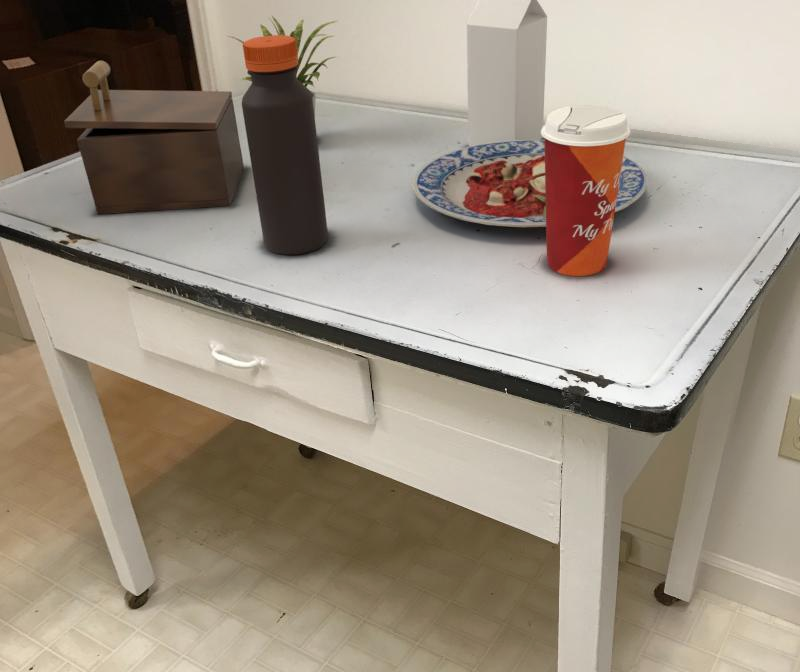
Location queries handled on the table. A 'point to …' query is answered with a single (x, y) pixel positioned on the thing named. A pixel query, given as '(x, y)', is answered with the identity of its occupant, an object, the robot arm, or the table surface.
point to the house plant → (297, 36)
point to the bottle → (283, 147)
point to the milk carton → (506, 71)
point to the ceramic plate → (503, 183)
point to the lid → (146, 106)
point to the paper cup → (582, 185)
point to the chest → (162, 167)
